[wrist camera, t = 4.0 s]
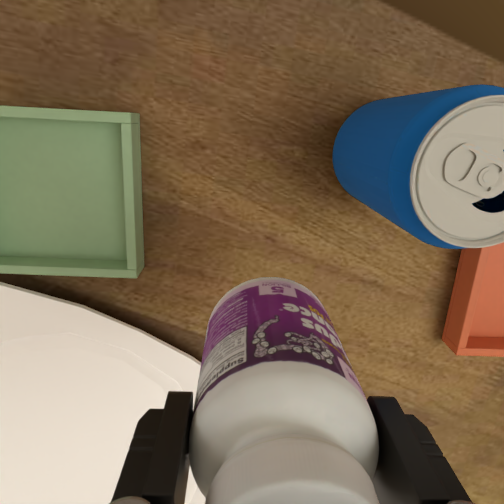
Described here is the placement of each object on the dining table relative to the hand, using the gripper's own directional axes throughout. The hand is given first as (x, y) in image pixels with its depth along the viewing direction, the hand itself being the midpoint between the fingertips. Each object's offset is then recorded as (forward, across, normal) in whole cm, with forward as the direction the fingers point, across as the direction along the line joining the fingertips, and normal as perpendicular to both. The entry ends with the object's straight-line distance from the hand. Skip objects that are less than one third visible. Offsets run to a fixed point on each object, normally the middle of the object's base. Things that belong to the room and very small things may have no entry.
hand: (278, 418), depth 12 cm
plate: (+17, +14, +16) cm, 27 cm away
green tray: (+17, +13, -4) cm, 21 cm away
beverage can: (+17, -8, -7) cm, 20 cm away
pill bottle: (+6, 0, 0) cm, 6 cm away
